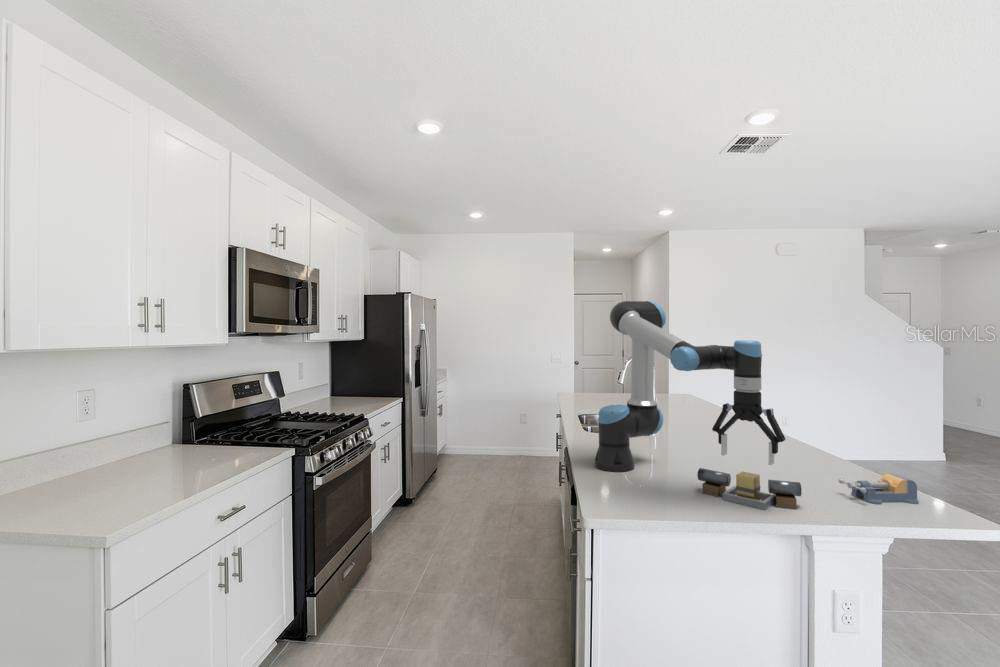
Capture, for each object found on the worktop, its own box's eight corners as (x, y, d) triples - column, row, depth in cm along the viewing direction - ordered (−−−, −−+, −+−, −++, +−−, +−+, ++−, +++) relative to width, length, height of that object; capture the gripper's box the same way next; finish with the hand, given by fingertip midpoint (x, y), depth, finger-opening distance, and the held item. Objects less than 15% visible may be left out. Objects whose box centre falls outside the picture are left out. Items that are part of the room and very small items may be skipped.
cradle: (722, 499, 143) (722, 493, 143) (734, 492, 150) (734, 486, 150) (765, 510, 135) (765, 503, 135) (775, 501, 141) (775, 495, 141)
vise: (893, 492, 148) (893, 472, 148) (923, 504, 137) (923, 482, 137) (837, 493, 148) (837, 472, 148) (862, 505, 137) (862, 483, 137)
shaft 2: (771, 506, 137) (770, 482, 137) (767, 499, 143) (767, 476, 143) (802, 509, 134) (802, 485, 134) (797, 502, 140) (797, 479, 140)
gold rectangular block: (736, 500, 143) (735, 474, 143) (742, 496, 146) (742, 471, 146) (754, 505, 139) (753, 478, 139) (760, 500, 142) (760, 474, 142)
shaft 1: (696, 491, 151) (696, 470, 151) (704, 487, 155) (703, 466, 155) (724, 498, 145) (724, 475, 145) (732, 493, 149) (731, 471, 149)
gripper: (701, 387, 149) (701, 453, 149) (789, 396, 131) (789, 471, 131) (711, 385, 154) (711, 448, 154) (797, 393, 136) (797, 465, 136)
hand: (747, 459), depth 143 cm, fingers open, 13 cm apart
